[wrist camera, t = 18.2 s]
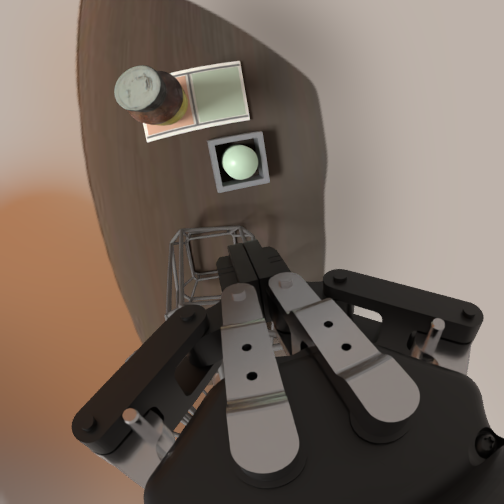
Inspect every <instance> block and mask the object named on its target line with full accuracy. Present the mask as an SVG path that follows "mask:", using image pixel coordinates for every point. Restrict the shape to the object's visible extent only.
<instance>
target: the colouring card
mask: <svg viewBox="0 0 504 504" xmlns="http://www.w3.org/2000/svg"><path fill="white" fill-rule="evenodd" d="M169 74H171V75H173V76H174V77H175V78H176V79H177V80H178V81H179V83H180V85H181V86H182V88H183V90H184V92H185V94H186V95H187V99H188V107H187V111H186V113H185V115H184V116H183V117H182V118H181V119H180V120H179V121H178V122H176V123H174V124H172V125H167V126H160V125H150V124H145V123H143V125H144V130H145V135H146V139H147V142H151V141H154V140H158V139H161V138H165V137H169V136H173V135H177V134H181V133H185V132H189V131H194V130H198V129H203V128H207V127H212V126H217V125H223V124H228V123H234V122H240V121H246V120H250V117H249V111H248V105H247V99H246V93H245V87H244V82H243V76H242V70H241V65H240V61H235V62H227V63H220V64H214V65H208V66H202V67H197V68H192V69H187V70H182V71H178V72H173V73H169Z"/></svg>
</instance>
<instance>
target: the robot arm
mask: <svg viewBox="0 0 504 504" xmlns="http://www.w3.org/2000/svg"><path fill="white" fill-rule="evenodd" d="M228 252H229V256H225V257H220V258H219V259H218V261H217V263H216V265H217V270H218V275H219V280H220V284H221V289H222V293H221V300H220V301H219V302H218V303H217V304H216V305H214V306H212V307H211V308H208V309H206V310H205V309H204V308H203V307H202V306H200V305H194V304H193V305H186V306H183V307H181V308H179V309H178V310H176V311H175V312H174V313H173V314H172V315H171V316H170V317H169V318H168V319H167V320H166V321H165V322H164V323H163V324H162V325H161V326H160V327H159V328H158V329H157V330H156V331H155V332H154V333H153V334H152V336H151V337H150V338H149V339H148V340H147V341H146V342H145V343H144V344H143V345H142V346H141V347H140V348H139V349H138V350H137V351H136V352H135V353H134V354H133V355H132V356H131V357H130V358H129V359H128V360H127V361H126V362H125V364H123V365H122V366H121V368H120V369H119V370H118V371H117V372H116V373H115V374H114V375H113V376H112V377H111V378H110V379H109V380H108V381H107V382H106V383H105V384H104V385H103V386H102V387H101V388H100V390H99V391H98V392H97V393H96V394H95V395H94V396H93V397H92V398H91V399H90V400H89V401H88V402H87V403H86V404H85V405H84V406H83V407H82V408H81V409H80V411H79V412H78V413H77V414H76V415H75V417H74V419H73V422H72V432H73V434H74V436H75V437H76V439H78V440H79V441H80V442H81V443H83V444H84V445H85V446H87V447H88V448H89V449H90V450H91V451H92V452H93V453H95V454H96V455H98V456H99V457H101V458H102V459H104V460H105V461H107V462H108V463H110V464H111V465H113V466H115V467H117V468H118V469H119V470H120V471H121V472H123V473H124V474H125V475H126V476H128V477H129V478H130V479H132V480H133V481H134V482H135V483H137V484H138V485H140V486H141V487H142V488H144V489H145V490H144V504H504V438H501V437H499V436H498V435H496V434H495V433H494V432H493V430H492V429H491V428H490V425H489V423H488V420H487V418H486V414H485V410H484V406H483V400H482V395H481V393H480V390H479V388H478V386H477V385H476V384H475V382H473V380H472V379H471V378H469V377H468V376H467V370H468V364H469V357H470V348H471V344H472V342H473V340H474V338H475V336H476V334H477V332H478V330H479V328H480V326H481V324H482V322H483V313H482V311H481V310H480V309H479V308H478V307H477V306H476V305H474V304H472V303H469V302H465V301H462V300H459V299H455V298H451V297H447V296H444V295H440V294H436V293H432V292H429V291H424V290H421V289H417V288H413V287H410V286H406V285H402V284H398V283H394V282H390V281H387V280H383V279H379V278H375V277H371V276H367V275H364V274H360V273H356V272H352V271H348V270H342V269H336V270H331V271H329V272H327V273H326V274H325V275H324V277H323V281H322V282H305V281H304V280H303V278H302V277H301V276H300V275H298V274H296V273H292V272H291V271H290V270H289V268H288V267H287V265H286V264H285V262H284V261H283V259H282V258H281V256H280V255H279V253H278V252H277V250H275V249H274V248H272V247H270V246H269V247H264V248H262V247H261V245H260V244H259V242H258V240H257V239H256V240H252V241H247V242H243V244H242V243H238V244H234V245H230V246H228ZM354 305H355V306H358V307H362V308H365V309H368V310H371V311H375V312H377V313H379V314H380V315H381V316H382V322H378V321H375V320H371V319H368V318H365V317H362V316H359V315H355V314H353V313H354ZM264 318H265V319H264ZM265 321H266V322H265ZM271 321H272V322H273V324H274V331H275V335H276V337H277V339H278V341H279V342H280V344H281V346H282V348H283V350H284V352H285V353H286V355H287V356H282V357H275V355H274V351H273V347H272V344H271V340H270V336H269V333H268V329H267V325H266V323H267V322H271ZM185 356H186V357H185ZM184 357H185V358H184ZM222 359H223V363H224V374H225V378H223V379H222V380H220V376H219V373H216V372H217V371H218V369H219V368H220V366H221V364H222ZM180 362H181V363H180ZM179 363H180V364H179ZM176 367H177V368H176ZM215 373H216V374H215ZM212 378H213V385H214V386H213V388H212V389H211V390H210V391H209V392H208V394H207V395H206V397H205V398H204V400H203V401H202V402H201V404H200V406H199V407H198V408H197V410H196V411H195V413H194V414H193V416H192V417H191V419H190V420H189V422H188V423H187V425H186V426H185V428H184V429H183V431H182V432H181V434H180V435H179V436H178V438H177V439H176V441H175V436H174V434H173V430H174V429H175V428H176V427H177V425H178V424H179V423H180V421H181V420H182V419H183V417H184V416H185V415H186V413H187V412H188V411H189V409H190V408H191V407H192V405H193V404H194V402H195V401H196V400H197V398H198V397H199V396H200V394H201V393H202V391H203V390H204V389H205V387H206V386H207V385H208V383H209V382H210V380H211V379H212Z"/></svg>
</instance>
